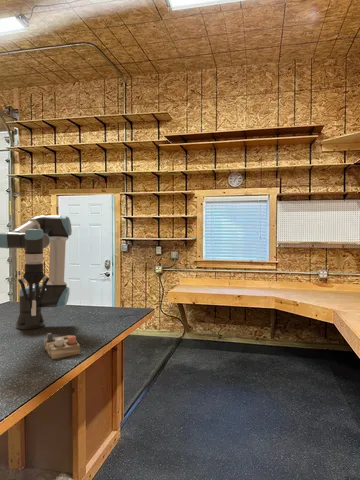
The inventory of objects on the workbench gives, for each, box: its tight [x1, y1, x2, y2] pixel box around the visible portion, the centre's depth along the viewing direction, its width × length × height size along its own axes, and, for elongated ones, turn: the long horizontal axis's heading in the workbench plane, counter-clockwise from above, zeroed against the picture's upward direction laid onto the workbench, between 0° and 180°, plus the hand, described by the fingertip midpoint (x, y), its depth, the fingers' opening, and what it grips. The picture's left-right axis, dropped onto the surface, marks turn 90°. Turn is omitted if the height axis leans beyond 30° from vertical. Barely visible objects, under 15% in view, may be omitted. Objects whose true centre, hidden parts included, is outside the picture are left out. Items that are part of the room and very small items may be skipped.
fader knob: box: [46, 332, 54, 341], centre depth 148 cm, size 3×2×3 cm
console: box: [43, 334, 81, 360], centre depth 147 cm, size 16×12×4 cm
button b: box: [55, 338, 64, 347], centre depth 143 cm, size 4×4×3 cm
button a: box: [68, 335, 77, 345], centre depth 146 cm, size 4×4×3 cm
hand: (33, 315), depth 143 cm, fingers closed
